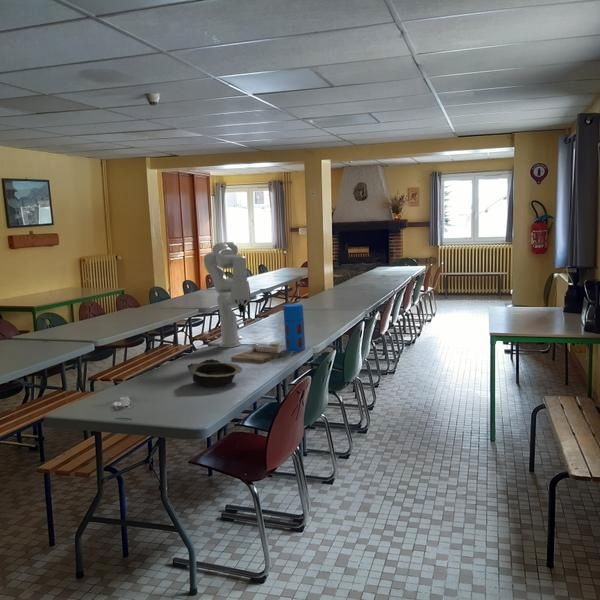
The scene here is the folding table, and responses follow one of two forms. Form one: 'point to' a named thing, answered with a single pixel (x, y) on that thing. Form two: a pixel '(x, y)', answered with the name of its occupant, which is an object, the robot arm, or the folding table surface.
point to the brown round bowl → (213, 373)
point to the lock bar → (266, 348)
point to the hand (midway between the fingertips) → (241, 311)
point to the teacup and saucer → (122, 402)
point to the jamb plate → (256, 356)
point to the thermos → (294, 327)
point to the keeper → (274, 345)
